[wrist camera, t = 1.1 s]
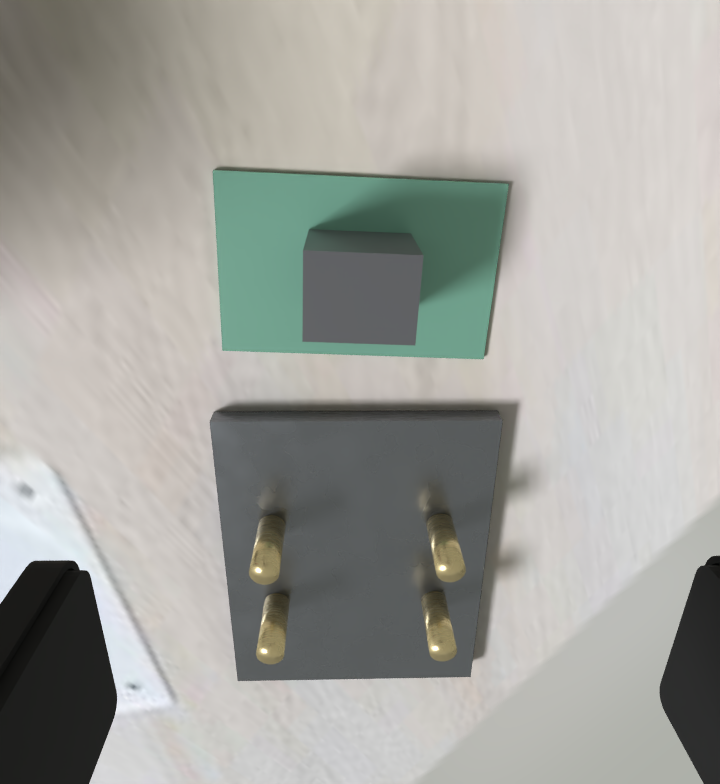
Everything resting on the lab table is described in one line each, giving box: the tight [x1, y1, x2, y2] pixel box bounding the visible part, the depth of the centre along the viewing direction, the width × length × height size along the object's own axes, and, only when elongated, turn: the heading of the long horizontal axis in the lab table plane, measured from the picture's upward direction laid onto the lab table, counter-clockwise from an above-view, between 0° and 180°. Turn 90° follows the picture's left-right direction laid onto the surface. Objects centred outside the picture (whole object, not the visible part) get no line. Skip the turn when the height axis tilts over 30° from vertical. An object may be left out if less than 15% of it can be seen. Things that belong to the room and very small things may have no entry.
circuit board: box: [213, 170, 509, 359], centre depth 28 cm, size 14×9×6 cm, turn 87°
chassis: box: [210, 411, 503, 681], centre depth 35 cm, size 20×16×5 cm
